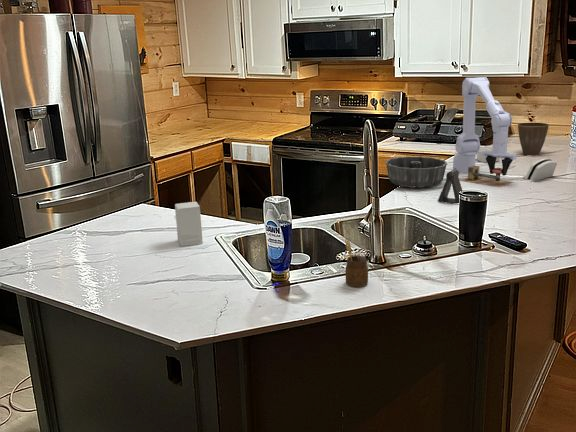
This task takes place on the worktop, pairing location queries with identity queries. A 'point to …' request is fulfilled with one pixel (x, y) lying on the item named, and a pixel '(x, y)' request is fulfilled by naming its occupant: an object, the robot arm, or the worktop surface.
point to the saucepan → (482, 158)
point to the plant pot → (532, 137)
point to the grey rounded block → (541, 169)
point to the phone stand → (455, 184)
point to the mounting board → (488, 182)
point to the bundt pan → (416, 171)
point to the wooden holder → (471, 173)
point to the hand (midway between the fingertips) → (498, 174)
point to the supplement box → (188, 223)
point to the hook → (494, 170)
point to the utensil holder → (356, 269)
